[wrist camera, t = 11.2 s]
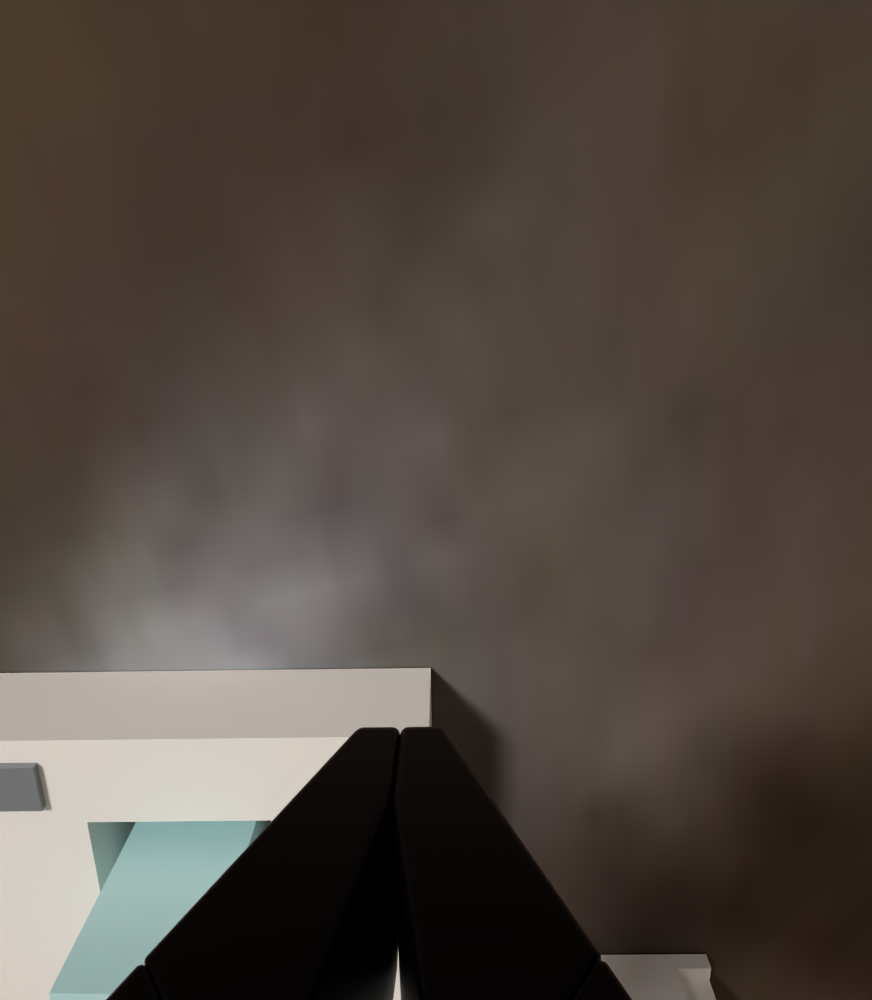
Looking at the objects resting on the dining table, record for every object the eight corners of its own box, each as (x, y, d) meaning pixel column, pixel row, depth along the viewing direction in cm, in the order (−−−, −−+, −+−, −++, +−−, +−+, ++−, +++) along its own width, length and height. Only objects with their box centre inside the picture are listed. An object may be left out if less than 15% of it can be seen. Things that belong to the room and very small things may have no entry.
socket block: (431, 668, 21) (428, 741, 18) (436, 958, 25) (436, 1062, 22) (-23, 673, 22) (-99, 747, 19) (42, 961, 25) (-13, 1064, 22)
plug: (272, 767, 22) (179, 1070, 14) (280, 882, 24) (199, 1219, 16) (164, 766, 23) (10, 1069, 14) (178, 881, 24) (44, 1217, 16)
